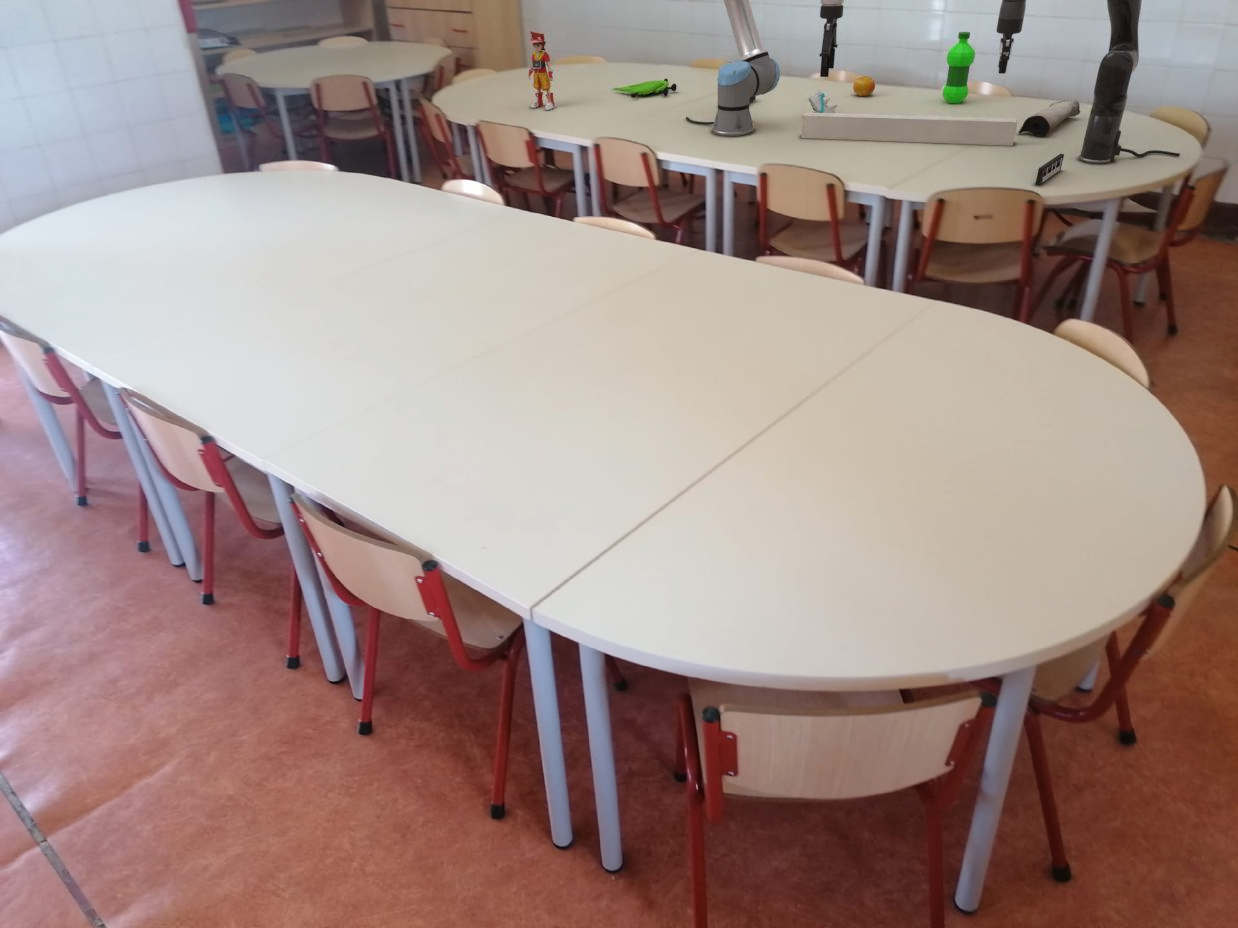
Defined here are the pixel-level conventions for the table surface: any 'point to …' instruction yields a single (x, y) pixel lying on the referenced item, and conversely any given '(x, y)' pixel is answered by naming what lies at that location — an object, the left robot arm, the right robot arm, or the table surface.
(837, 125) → the bar
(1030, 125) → the rolled mat
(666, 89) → the toy
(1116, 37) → the right robot arm
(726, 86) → the left robot arm
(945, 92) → the plastic bottle
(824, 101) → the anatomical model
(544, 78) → the toy
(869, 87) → the fruit
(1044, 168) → the midi keyboard
